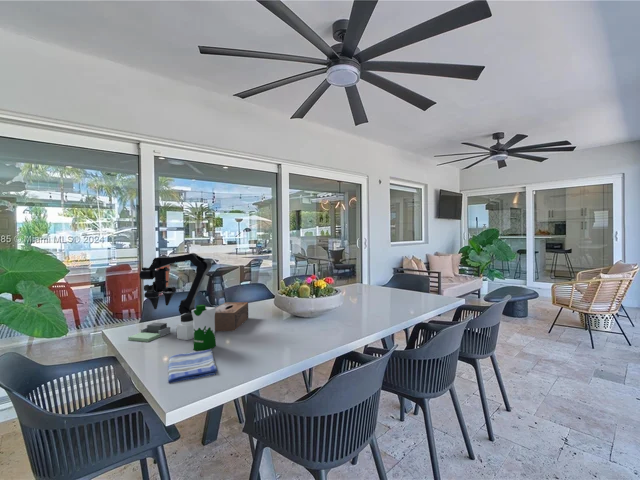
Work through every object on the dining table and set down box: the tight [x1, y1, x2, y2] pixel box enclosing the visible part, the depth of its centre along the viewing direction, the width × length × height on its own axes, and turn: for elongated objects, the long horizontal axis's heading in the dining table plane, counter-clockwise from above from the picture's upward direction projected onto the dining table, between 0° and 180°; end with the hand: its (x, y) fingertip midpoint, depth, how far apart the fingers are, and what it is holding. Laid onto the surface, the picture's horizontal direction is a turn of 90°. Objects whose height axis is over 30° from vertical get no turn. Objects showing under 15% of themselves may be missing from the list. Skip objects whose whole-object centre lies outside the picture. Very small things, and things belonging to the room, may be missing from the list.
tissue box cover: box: [215, 301, 249, 332], centre depth 185 cm, size 26×14×10 cm, turn 176°
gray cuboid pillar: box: [146, 322, 168, 334], centre depth 170 cm, size 8×5×5 cm, turn 77°
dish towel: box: [167, 349, 218, 384], centre depth 126 cm, size 17×24×3 cm
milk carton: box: [191, 303, 217, 351], centre depth 146 cm, size 9×9×20 cm
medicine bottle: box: [176, 313, 194, 341], centre depth 162 cm, size 7×7×12 cm
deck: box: [127, 326, 171, 343], centre depth 165 cm, size 12×15×3 cm
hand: (161, 307), depth 179 cm, fingers open, 9 cm apart
